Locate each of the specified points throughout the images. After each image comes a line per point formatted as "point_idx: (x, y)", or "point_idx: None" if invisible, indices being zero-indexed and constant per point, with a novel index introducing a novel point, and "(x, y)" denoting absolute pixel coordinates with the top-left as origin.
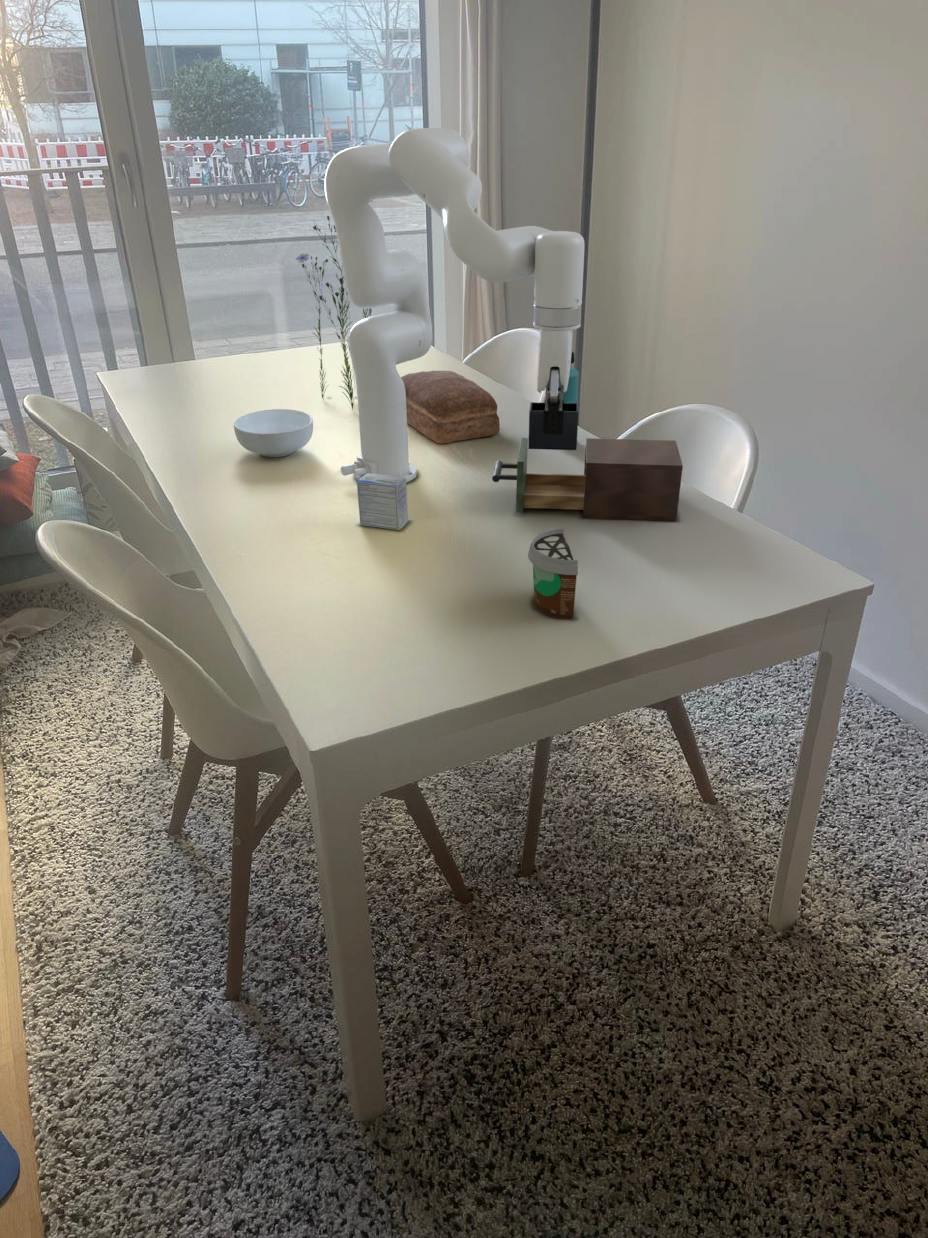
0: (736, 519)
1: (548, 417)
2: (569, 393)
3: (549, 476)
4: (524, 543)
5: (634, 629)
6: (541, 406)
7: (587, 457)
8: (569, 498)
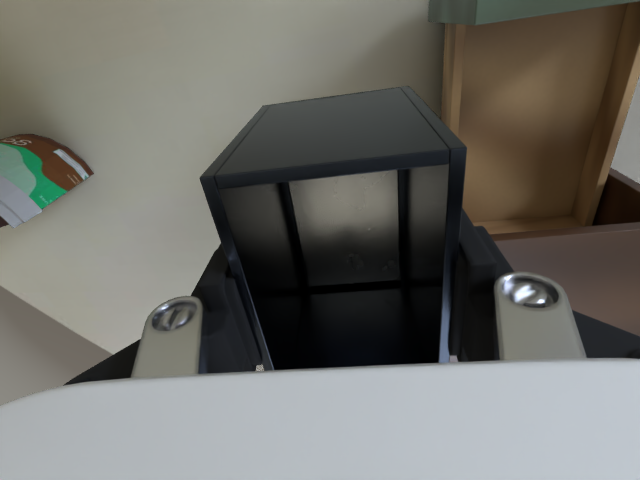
0: None
1: (194, 289)
2: None
3: (624, 77)
4: (256, 63)
5: (43, 276)
6: (438, 222)
7: (503, 243)
8: None
